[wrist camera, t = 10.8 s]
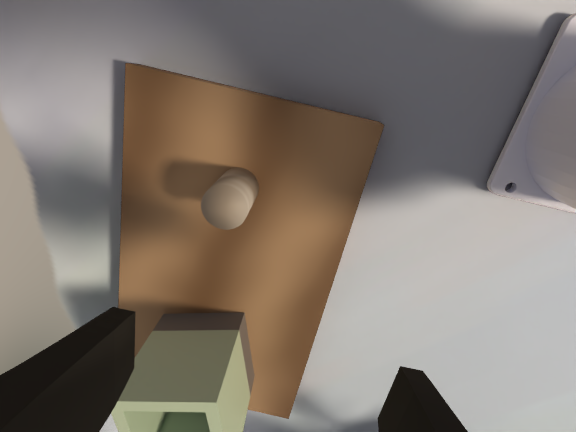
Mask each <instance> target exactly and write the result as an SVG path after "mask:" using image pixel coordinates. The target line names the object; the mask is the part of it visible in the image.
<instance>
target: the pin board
mask: <svg viewBox="0 0 576 432" xmlns="http://www.w3.org/2000/svg"><path fill="white" fill-rule="evenodd" d="M383 127H384V125H383V124H382V123H380V122H377V121H373V120H369V119H365V118H361V117H357V116H353V115H348V114H344V113H340V112H336V111H332V110H328V109H323V108H319V107H315V106H311V105H307V104H303V103H298V102H294V101H290V100H286V99H282V98H278V97H274V96H269V95H265V94H261V93H257V92H253V91H249V90H244V89H240V88H236V87H232V86H228V85H224V84H219V83H215V82H211V81H207V80H203V79H199V78H195V77H190V76H186V75H182V74H178V73H174V72H170V71H165V70H161V69H157V68H153V67H149V66H145V65H140V64H132V63H126V65H125V99H124V133H123V167H122V201H121V235H120V270H119V304H118V308H120V309H125V310H130V311H135V312H136V313H135V357H136V355H137V354H138V352H139V351H140V349H141V348H142V346H143V345H144V343H145V342H146V340H147V338H148V337H149V335H150V334H151V332H152V331H153V329H154V328H155V326H156V325H157V323H158V322H159V320H160V319H161V317H162V315H163V314H181V313H241V312H245V319H246V325H247V331H248V338H249V344H250V350H251V356H252V363H253V369H254V375H255V376H254V381H253V386H252V391H251V395H250V400H249V405H248V410H253V411H257V412H261V413H266V414H270V415H274V416H279V417H283V418H287V419H289V416H290V413H291V410H292V406H293V403H294V400H295V397H296V394H297V391H298V388H299V385H300V382H301V379H302V376H303V373H304V370H305V367H306V364H307V360H308V357H309V354H310V351H311V348H312V345H313V342H314V339H315V336H316V333H317V330H318V327H319V324H320V321H321V318H322V314H323V311H324V308H325V305H326V302H327V299H328V296H329V293H330V290H331V287H332V284H333V281H334V278H335V275H336V272H337V269H338V265H339V262H340V259H341V256H342V253H343V250H344V247H345V244H346V241H347V238H348V235H349V232H350V229H351V226H352V223H353V219H354V216H355V213H356V210H357V207H358V204H359V201H360V198H361V195H362V192H363V189H364V186H365V183H366V180H367V177H368V173H369V170H370V167H371V164H372V161H373V158H374V155H375V152H376V149H377V146H378V143H379V140H380V137H381V134H382V131H383Z"/></svg>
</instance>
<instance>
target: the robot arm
mask: <svg viewBox="0 0 576 432" xmlns="http://www.w3.org/2000/svg"><path fill="white" fill-rule="evenodd" d="M509 183H512V187H511V188H510V189H509V190H505V186H506V185H507V184H509ZM487 188H488V190H489V191H490V192H492V193H494V194H496V195H500V196H504V197H509V198H513V199H517V200H521V201H525V202H529V203H534V204H538V205H542V206H546V207H550V208H555V209H559V210H563V211H567V212H571V213H575V214H576V13H575V14H573V15H570V16H569V17H568V18H566V19H565V21H564V22H563V24H562V25H561V28H560V30H559V32H558V34H557V36H556V38H555V40H554V42H553V44H552V46H551V49H550V51H549V53H548V55H547V57H546V59H545V61H544V63H543V65H542V68H541V70H540V72H539V74H538V76H537V78H536V80H535V82H534V84H533V87H532V89H531V91H530V93H529V95H528V97H527V99H526V101H525V103H524V106H523V108H522V110H521V112H520V114H519V116H518V118H517V120H516V122H515V125H514V127H513V129H512V131H511V133H510V135H509V137H508V139H507V141H506V143H505V146H504V148H503V150H502V152H501V154H500V156H499V158H498V160H497V162H496V165H495V167H494V169H493V171H492V173H491V175H490V177H489V179H488V182H487ZM135 313H136V312H135V311H130V310H125V309H120V308H116V307H112V308H111V309H109V310H107V311H106V312H104V313H102V314H101V315H99V316H98V317H96V318H94V319H93V320H91V321H90V322H88V323H86V324H85V325H83V326H82V327H80V328H78V329H77V330H75V331H74V332H72V333H70V334H69V335H67V336H66V337H64V338H62V339H61V340H59V341H58V342H56V343H54V344H53V345H51V346H49V347H48V348H46V349H45V350H43V351H41V352H39V353H38V354H36V355H34V356H33V357H31V358H29V359H28V360H26V361H24V362H23V363H21V364H19V365H18V366H16V367H14V368H13V369H11V370H9V371H7V372H5V373H3V374H2V375H0V432H99V431H100V430H101V428H102V426H103V425H104V423H105V422H106V420H107V419H108V417H109V415H110V414H111V412H112V411H113V409H114V407H115V406H116V404H117V402H118V400H119V398H120V396H121V394H122V392H123V390H124V388H125V386H126V384H127V382H128V380H129V378H130V376H131V374H132V372H133V370H134V362H135ZM378 427H379V432H468V431H467V430H466V429H465V427H464V426H463V425H462V423H461V422H460V421H459V419H458V418H457V417H456V415H455V414H454V413H453V411H452V410H451V408H450V407H449V406H448V404H447V403H446V402H445V400H444V399H443V397H442V396H441V395H440V393H439V392H438V391H437V389H436V388H435V387H434V385H433V384H432V382H431V381H430V380H429V378H428V377H427V376H426V375H425V373H424V372H423V371H421V370H416V369H411V368H406V367H401V366H400V368H399V370H398V373H397V375H396V377H395V380H394V382H393V384H392V387H391V389H390V391H389V394H388V396H387V398H386V401H385V403H384V405H383V408H382V410H381V412H380V415H379V417H378Z"/></svg>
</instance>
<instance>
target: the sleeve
mask: <svg viewBox="0 0 576 432" xmlns="http://www.w3.org/2000/svg"><path fill="white" fill-rule="evenodd" d="M254 376H255V375H254V369H253V363H252V356H251V350H250V344H249V338H248V331H247V325H246V319H245V312H241V313H181V314H163V315H162V317H161V319H160V320H159V322H158V323H157V325H156V326H155V328H154V329H153V331H152V332H151V334H150V335H149V337H148V338H147V340H146V342H145V343H144V345H143V346H142V348H141V349H140V351H139V352H138V354H137V355H136V357H135V362H134V370H133V372H132V374H131V376H130V378H129V380H128V382H127V384H126V386H125V388H124V390H123V392H122V394H121V396H120V398H119V400H118V402H117V404H116V406H115V407H114V409H113V411H112V412H111V414H112V416H113V419H114V422H115V424H116V427H117V429H118V432H243V429H244V424H245V419H246V414H247V410H248V405H249V400H250V395H251V391H252V386H253V381H254Z"/></svg>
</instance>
